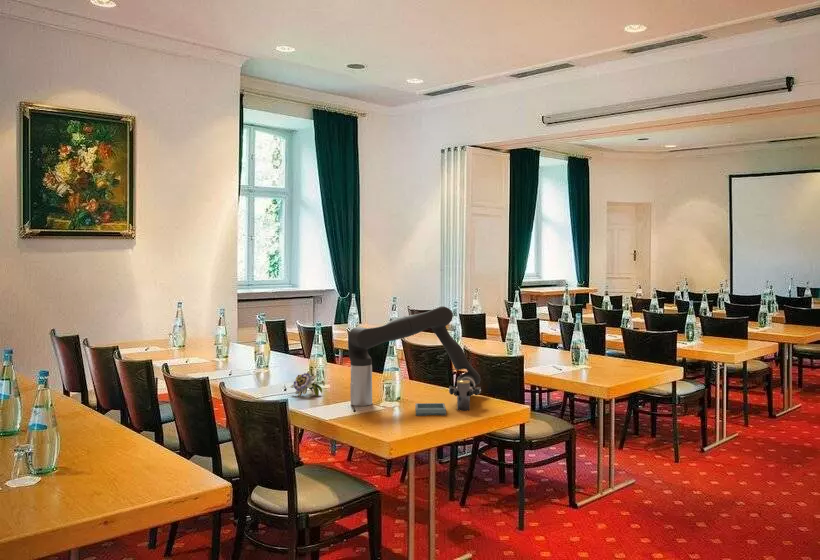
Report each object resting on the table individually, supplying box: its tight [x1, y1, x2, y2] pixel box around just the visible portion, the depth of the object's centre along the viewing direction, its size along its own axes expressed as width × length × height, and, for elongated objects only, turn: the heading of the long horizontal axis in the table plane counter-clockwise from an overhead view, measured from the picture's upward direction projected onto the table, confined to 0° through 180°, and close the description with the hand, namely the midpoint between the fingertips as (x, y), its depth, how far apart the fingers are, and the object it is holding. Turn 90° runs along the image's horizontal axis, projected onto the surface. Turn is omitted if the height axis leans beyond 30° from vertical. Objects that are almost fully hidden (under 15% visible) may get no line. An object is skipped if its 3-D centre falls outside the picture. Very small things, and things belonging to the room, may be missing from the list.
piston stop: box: [456, 380, 471, 412], centre depth 301 cm, size 5×5×12 cm
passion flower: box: [290, 370, 325, 398], centre depth 335 cm, size 13×12×14 cm
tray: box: [414, 402, 447, 417], centre depth 296 cm, size 12×12×2 cm
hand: (463, 393), depth 298 cm, fingers closed on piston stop, 5 cm apart
